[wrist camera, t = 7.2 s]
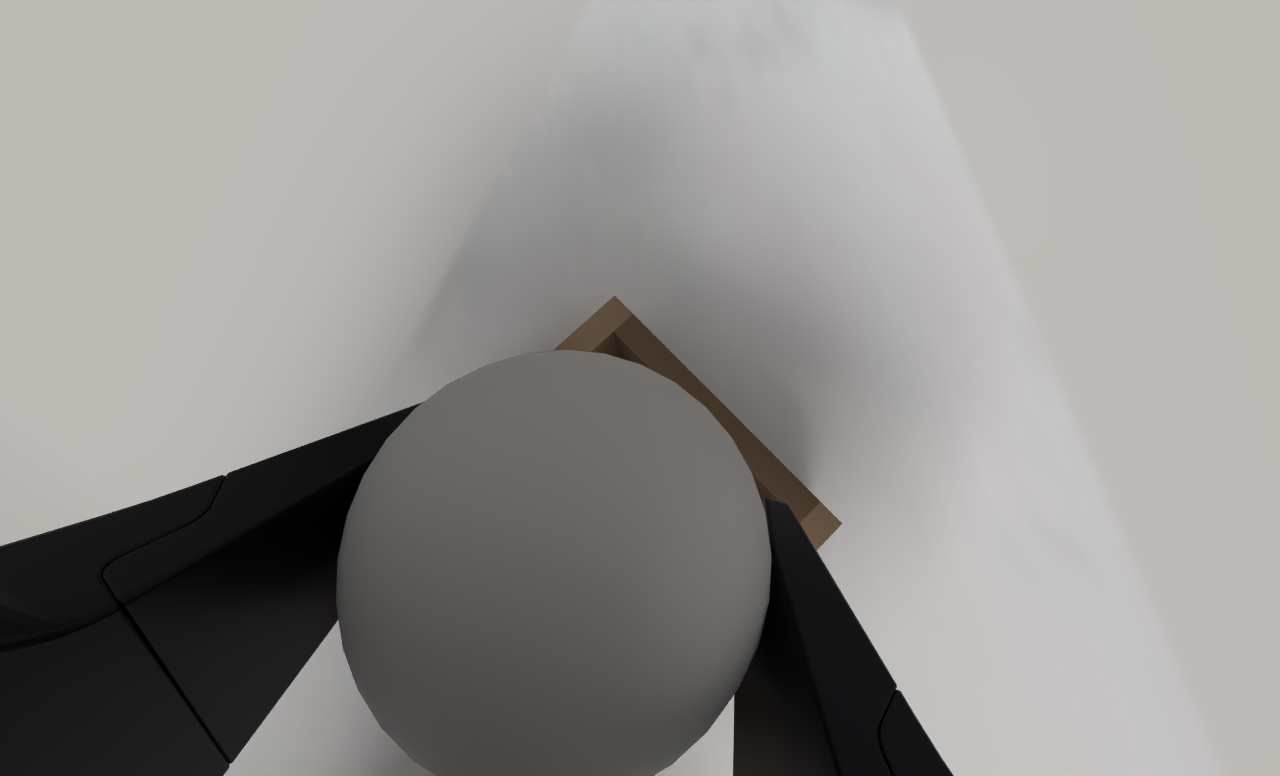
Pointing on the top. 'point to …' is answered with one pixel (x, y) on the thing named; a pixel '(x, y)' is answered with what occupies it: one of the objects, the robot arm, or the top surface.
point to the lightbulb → (553, 572)
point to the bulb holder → (634, 342)
